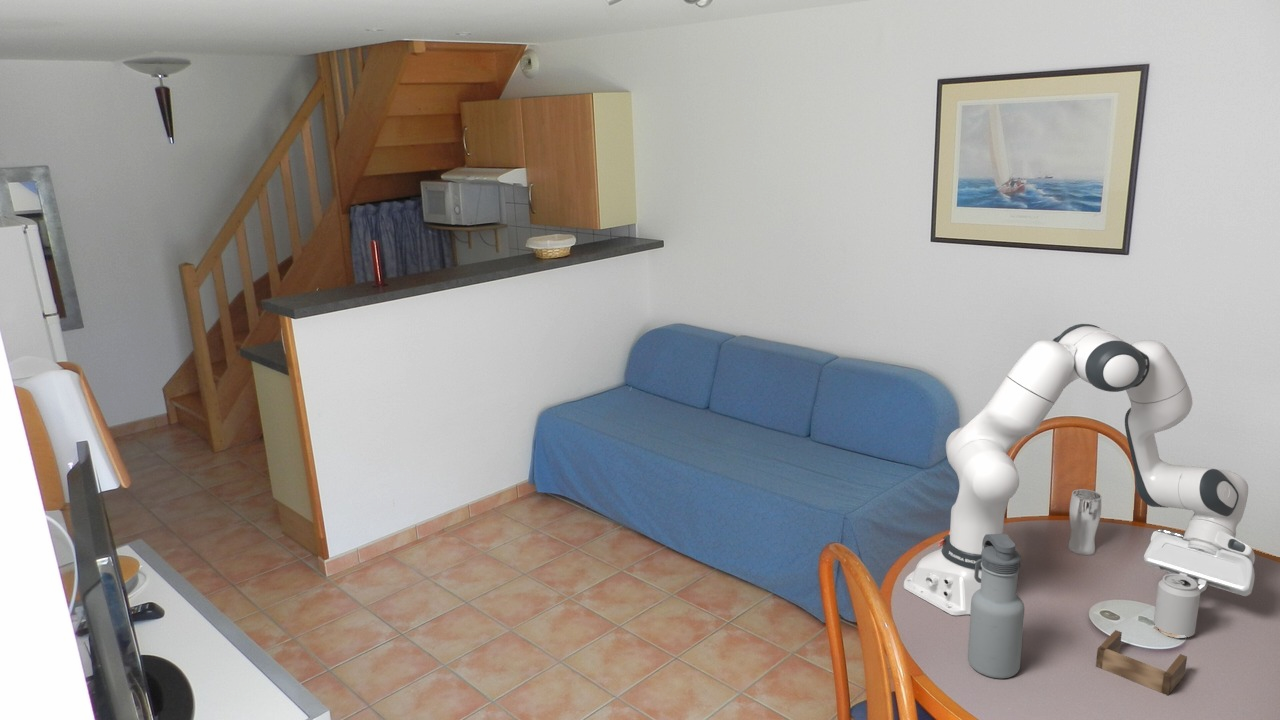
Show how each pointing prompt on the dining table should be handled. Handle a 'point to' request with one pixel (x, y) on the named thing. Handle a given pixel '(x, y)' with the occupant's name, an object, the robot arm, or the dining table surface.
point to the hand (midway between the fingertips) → (1186, 597)
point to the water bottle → (996, 610)
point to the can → (1177, 604)
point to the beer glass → (1084, 520)
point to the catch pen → (1139, 667)
